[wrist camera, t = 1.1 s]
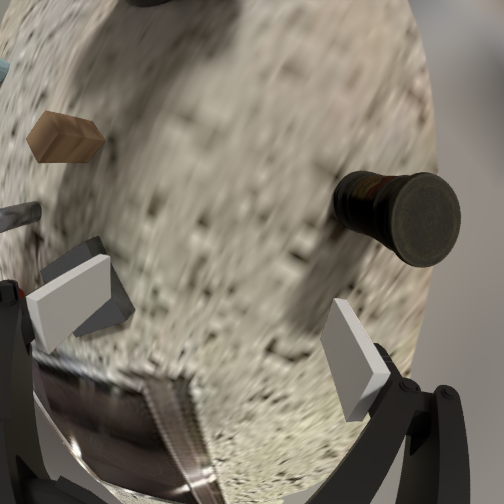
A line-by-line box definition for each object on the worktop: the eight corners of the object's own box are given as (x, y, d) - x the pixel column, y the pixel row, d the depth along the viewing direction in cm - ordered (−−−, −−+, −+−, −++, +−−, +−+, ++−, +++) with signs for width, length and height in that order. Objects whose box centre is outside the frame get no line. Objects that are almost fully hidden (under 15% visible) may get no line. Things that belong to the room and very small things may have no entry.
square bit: (74, 142, 35) (26, 139, 24) (92, 121, 34) (45, 110, 23) (86, 162, 36) (37, 163, 25) (105, 140, 35) (58, 133, 24)
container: (398, 199, 36) (476, 219, 19) (362, 243, 38) (424, 290, 21) (358, 157, 35) (427, 147, 18) (320, 203, 37) (366, 225, 20)
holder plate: (52, 264, 41) (40, 271, 38) (98, 235, 39) (85, 241, 36) (85, 327, 45) (75, 337, 41) (135, 309, 43) (125, 320, 39)
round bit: (27, 207, 39) (-32, 222, 23) (37, 197, 38) (-25, 211, 23) (33, 224, 39) (-26, 245, 24) (43, 216, 39) (-19, 234, 23)
